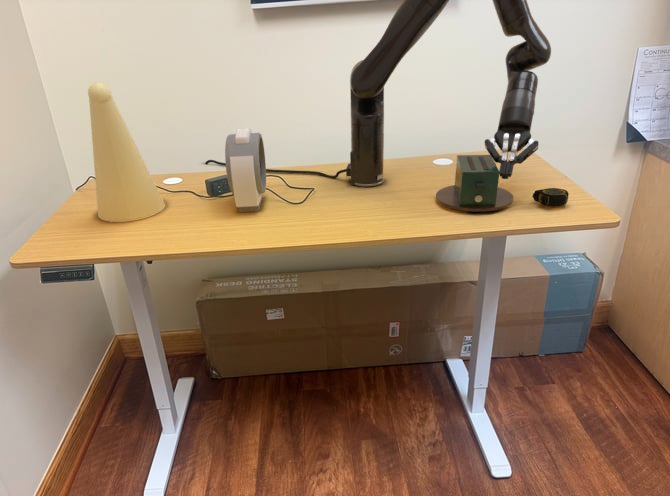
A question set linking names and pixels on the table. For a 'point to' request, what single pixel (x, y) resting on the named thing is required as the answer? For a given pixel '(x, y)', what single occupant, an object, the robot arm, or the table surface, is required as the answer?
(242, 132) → the alarm clock
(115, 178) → the cone light
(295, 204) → the table surface
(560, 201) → the tape measure
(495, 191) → the toaster
